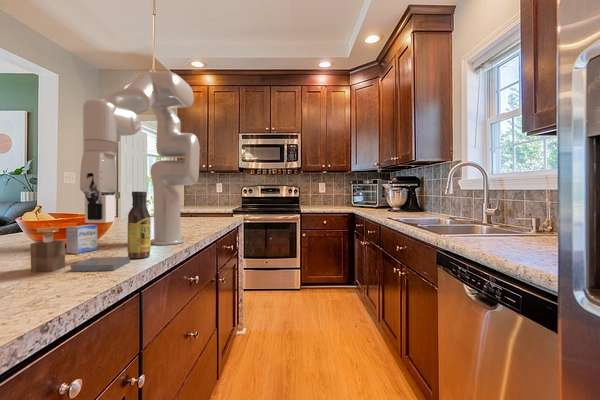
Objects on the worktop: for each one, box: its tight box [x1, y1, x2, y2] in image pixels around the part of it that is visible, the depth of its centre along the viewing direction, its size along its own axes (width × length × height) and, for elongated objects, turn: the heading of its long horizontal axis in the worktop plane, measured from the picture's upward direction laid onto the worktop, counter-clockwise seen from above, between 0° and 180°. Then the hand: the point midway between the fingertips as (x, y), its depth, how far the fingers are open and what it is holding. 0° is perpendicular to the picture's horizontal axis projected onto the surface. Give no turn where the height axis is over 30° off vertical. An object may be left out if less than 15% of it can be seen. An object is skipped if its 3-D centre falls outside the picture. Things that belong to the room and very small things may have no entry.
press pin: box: [36, 226, 60, 243], centre depth 83 cm, size 4×4×6 cm
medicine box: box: [65, 224, 98, 255], centre depth 108 cm, size 8×4×9 cm, turn 168°
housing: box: [84, 194, 116, 224], centre depth 86 cm, size 5×5×7 cm
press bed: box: [70, 256, 131, 272], centre depth 87 cm, size 10×10×2 cm
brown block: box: [30, 239, 66, 273], centre depth 84 cm, size 5×5×7 cm
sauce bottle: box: [127, 190, 152, 260], centre depth 99 cm, size 7×6×20 cm
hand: (100, 218), depth 86 cm, fingers closed on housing, 5 cm apart
